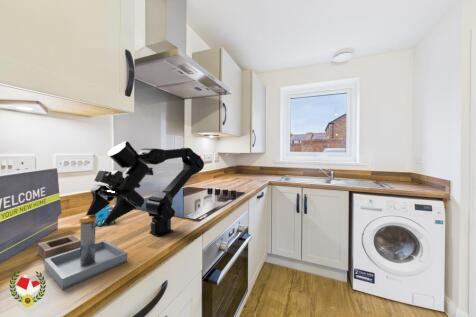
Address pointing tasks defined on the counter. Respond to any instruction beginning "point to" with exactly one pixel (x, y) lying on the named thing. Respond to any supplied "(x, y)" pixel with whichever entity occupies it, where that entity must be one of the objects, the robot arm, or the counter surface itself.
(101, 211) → the gear
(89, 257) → the steel pin
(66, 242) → the collar block
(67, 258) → the tray
